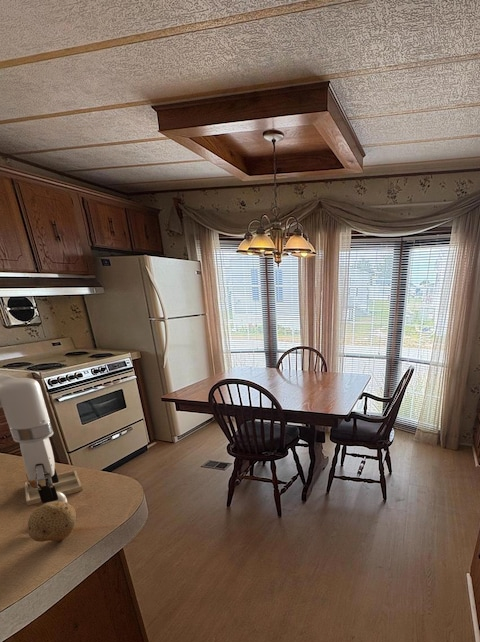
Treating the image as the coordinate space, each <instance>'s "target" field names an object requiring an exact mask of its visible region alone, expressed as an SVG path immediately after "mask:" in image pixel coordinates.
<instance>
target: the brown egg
mask: <svg viewBox="0 0 480 642" xmlns="http://www.w3.org/2000/svg"><path fill="white" fill-rule="evenodd" d="M25 477H26V480H27V482H28V483H29V485H30V486H31V487H33V488H34V489H35V488H38V487H37V481H36V477H35V480H33V481H30V480H29V479H28V475H27V473H26V474H25Z"/></svg>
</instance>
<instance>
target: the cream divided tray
mask: <svg viewBox="0 0 480 642" xmlns="http://www.w3.org/2000/svg"><path fill="white" fill-rule="evenodd" d="M57 476H58V480H59V482H58V483H53V485H55V489H56V492H61V493H63V494H64V495H65V496H67V495H71V494H74V493H77V492H82V491H83V486H82V483H81V481H80V479H79V475H78V473H77V470H76V469H74V470H69V471H64V472H61V473H57ZM23 484H24V492H25V502H26V505H27V506H31V505H35V504H39V503H42V501H41V498H40V495H39V492H38V488H35V489H34V488H33V487H31V486H30V485H29V483H28V481H25V482H23Z"/></svg>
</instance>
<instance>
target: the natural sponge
mask: <svg viewBox="0 0 480 642" xmlns="http://www.w3.org/2000/svg"><path fill="white" fill-rule="evenodd" d="M76 519H77V513H76V510H75V508H74V507H73V506H72V505H71V504H70V503H68V504H67V503H64V502H59V501H55V502H50V503H46V504H45V503H43V504H42V505H40V506H38V507H37V508H35V510H33V511H32V513H31V514H30V515H29V517H28V521H27V534H28V536H29V537H30V538H31V539H32V540H33V541H35V542H41V543H43V542H48V541H49V542H50V541H51V542H59V541H63V540H66V538H67V537H68V536H69V535H70V534H71V533H72V532H73V530H74V528H75V525H76Z"/></svg>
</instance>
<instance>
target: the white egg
mask: <svg viewBox="0 0 480 642" xmlns="http://www.w3.org/2000/svg"><path fill="white" fill-rule="evenodd" d="M57 495H58V500H56V501H59V502H64V503H67V504H69V501H68V498H67V495H64V494H63V493H61V492H57ZM52 502H55V501H52ZM47 503H50V502H47ZM44 504H46V503H44Z"/></svg>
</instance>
